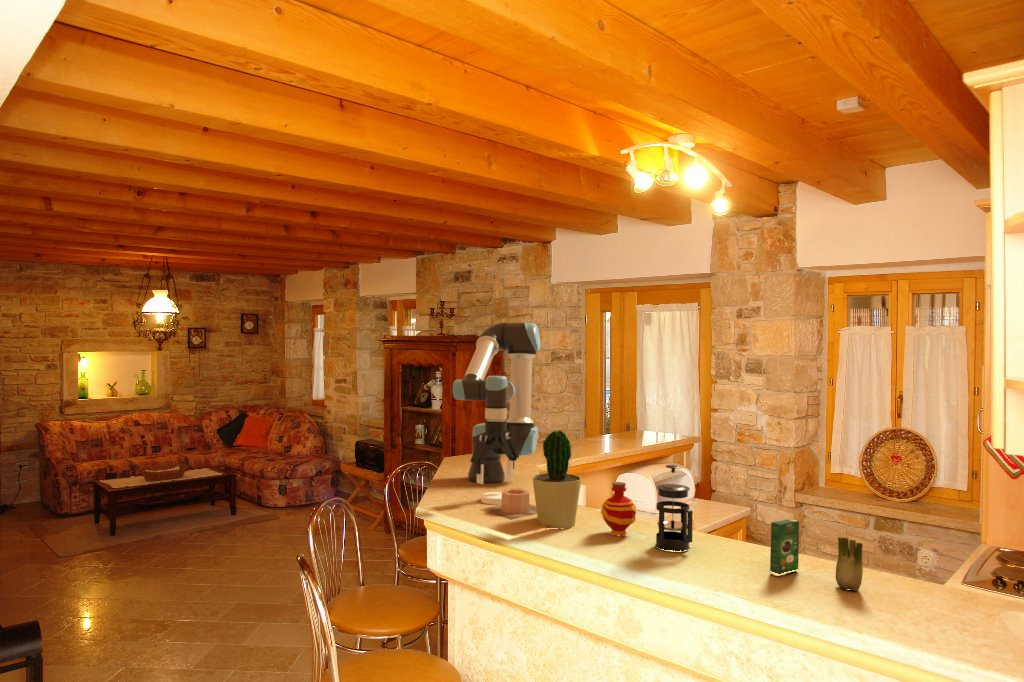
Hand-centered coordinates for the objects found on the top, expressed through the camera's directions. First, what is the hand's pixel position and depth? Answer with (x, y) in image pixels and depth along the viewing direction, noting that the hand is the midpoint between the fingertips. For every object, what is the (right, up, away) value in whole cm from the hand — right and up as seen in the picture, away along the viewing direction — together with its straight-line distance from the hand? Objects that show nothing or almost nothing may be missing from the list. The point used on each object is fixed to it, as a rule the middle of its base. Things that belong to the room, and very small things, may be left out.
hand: (495, 481), depth 237 cm
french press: (+51, -9, -48) cm, 71 cm away
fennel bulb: (+85, -9, -78) cm, 116 cm away
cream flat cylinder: (0, -9, 0) cm, 9 cm away
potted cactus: (+20, -9, -25) cm, 33 cm away
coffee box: (+74, -9, -68) cm, 101 cm away
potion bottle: (+38, -9, -34) cm, 52 cm away
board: (+7, -8, -12) cm, 16 cm away
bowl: (+7, -7, -12) cm, 16 cm away
